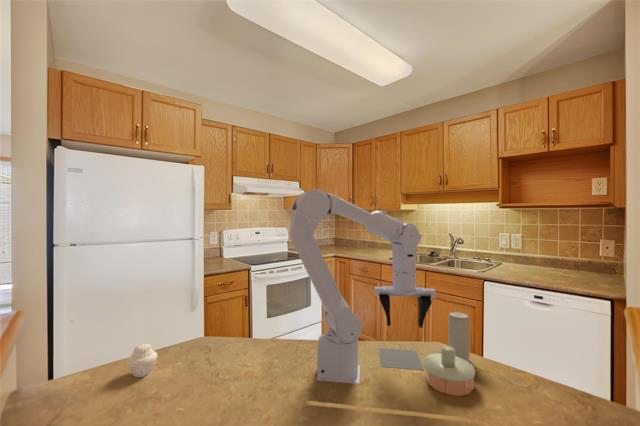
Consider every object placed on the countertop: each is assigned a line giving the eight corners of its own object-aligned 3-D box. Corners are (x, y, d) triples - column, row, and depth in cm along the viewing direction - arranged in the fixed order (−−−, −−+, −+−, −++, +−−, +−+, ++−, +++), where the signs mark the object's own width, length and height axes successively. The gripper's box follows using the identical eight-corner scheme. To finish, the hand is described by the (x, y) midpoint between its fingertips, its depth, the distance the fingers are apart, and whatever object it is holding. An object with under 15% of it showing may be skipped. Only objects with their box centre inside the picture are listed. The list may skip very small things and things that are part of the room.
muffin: (123, 373, 68) (124, 344, 68) (152, 364, 73) (152, 336, 73) (131, 384, 64) (131, 352, 64) (161, 373, 68) (161, 343, 69)
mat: (380, 369, 70) (380, 366, 70) (379, 350, 80) (379, 347, 80) (423, 372, 69) (423, 370, 69) (416, 352, 78) (416, 350, 78)
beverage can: (472, 367, 71) (471, 318, 71) (451, 365, 72) (450, 317, 72) (466, 357, 76) (466, 312, 76) (446, 356, 77) (446, 310, 77)
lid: (429, 379, 59) (429, 358, 59) (419, 355, 70) (419, 337, 70) (483, 383, 58) (483, 362, 58) (464, 358, 68) (464, 340, 68)
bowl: (431, 396, 60) (431, 378, 60) (423, 372, 69) (423, 357, 69) (478, 400, 58) (478, 382, 58) (463, 375, 67) (463, 360, 67)
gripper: (375, 273, 70) (375, 329, 69) (438, 275, 67) (438, 333, 67) (374, 268, 77) (374, 319, 76) (431, 269, 74) (431, 322, 74)
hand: (404, 325), depth 72 cm, fingers open, 7 cm apart
